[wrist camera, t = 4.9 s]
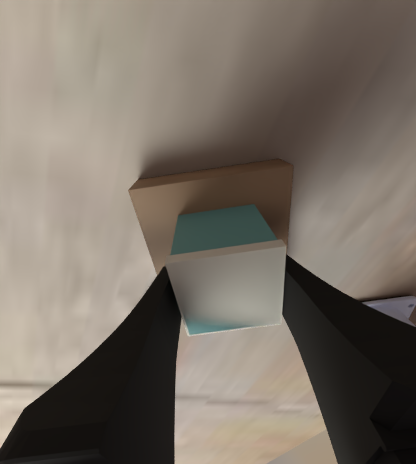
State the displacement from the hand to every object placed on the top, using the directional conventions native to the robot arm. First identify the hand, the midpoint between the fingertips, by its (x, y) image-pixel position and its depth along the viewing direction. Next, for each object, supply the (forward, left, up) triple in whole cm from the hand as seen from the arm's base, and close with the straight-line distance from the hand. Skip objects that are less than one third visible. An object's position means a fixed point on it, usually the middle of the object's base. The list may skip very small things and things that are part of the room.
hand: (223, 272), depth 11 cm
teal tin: (0, 0, -2) cm, 3 cm away
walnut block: (0, 0, -5) cm, 5 cm away
